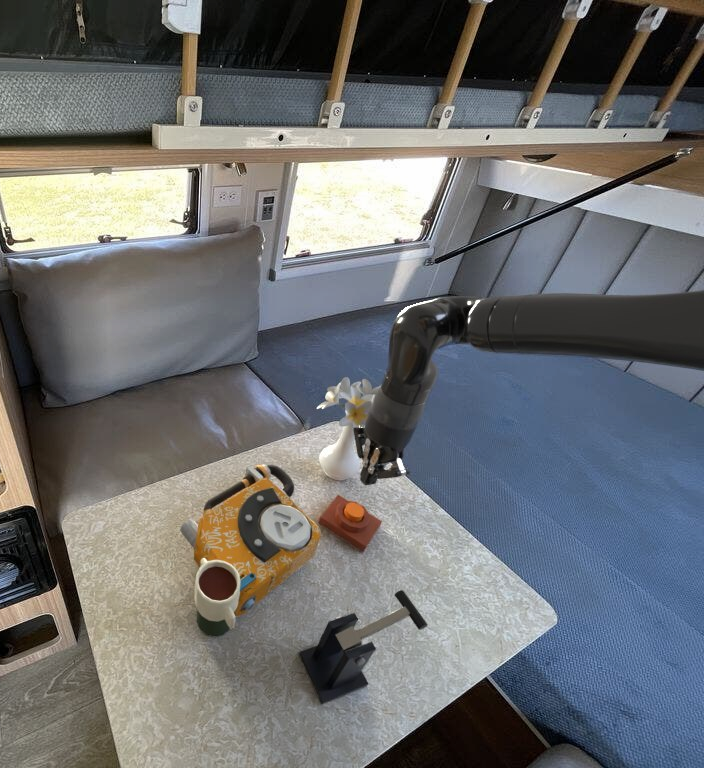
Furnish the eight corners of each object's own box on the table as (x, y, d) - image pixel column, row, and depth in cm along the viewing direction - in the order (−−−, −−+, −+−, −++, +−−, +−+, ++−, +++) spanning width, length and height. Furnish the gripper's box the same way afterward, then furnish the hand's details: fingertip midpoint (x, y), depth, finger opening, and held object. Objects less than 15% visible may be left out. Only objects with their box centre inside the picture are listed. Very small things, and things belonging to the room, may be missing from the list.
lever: (402, 593, 61) (403, 587, 59) (427, 627, 57) (428, 622, 55) (331, 629, 60) (329, 624, 59) (350, 666, 56) (349, 661, 55)
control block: (379, 527, 85) (384, 515, 83) (363, 552, 81) (368, 541, 78) (335, 500, 91) (339, 489, 88) (318, 522, 86) (322, 511, 84)
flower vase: (387, 481, 95) (424, 398, 81) (318, 498, 91) (345, 414, 76) (354, 444, 106) (382, 364, 91) (291, 457, 101) (310, 376, 86)
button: (364, 514, 84) (367, 509, 83) (357, 525, 81) (359, 520, 80) (348, 504, 86) (350, 499, 85) (340, 515, 83) (342, 509, 82)
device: (160, 509, 78) (271, 447, 92) (161, 534, 83) (267, 471, 97) (235, 608, 64) (354, 516, 78) (231, 631, 68) (344, 541, 82)
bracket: (340, 639, 68) (360, 602, 60) (366, 686, 62) (392, 652, 55) (298, 654, 66) (313, 618, 58) (321, 704, 60) (341, 672, 53)
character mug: (247, 641, 67) (256, 603, 60) (209, 661, 65) (213, 624, 57) (217, 582, 75) (221, 542, 68) (182, 598, 73) (182, 559, 65)
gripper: (443, 435, 63) (406, 504, 73) (387, 386, 73) (361, 453, 83) (403, 444, 61) (371, 514, 71) (351, 393, 71) (330, 461, 82)
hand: (366, 481), depth 77 cm, fingers closed
